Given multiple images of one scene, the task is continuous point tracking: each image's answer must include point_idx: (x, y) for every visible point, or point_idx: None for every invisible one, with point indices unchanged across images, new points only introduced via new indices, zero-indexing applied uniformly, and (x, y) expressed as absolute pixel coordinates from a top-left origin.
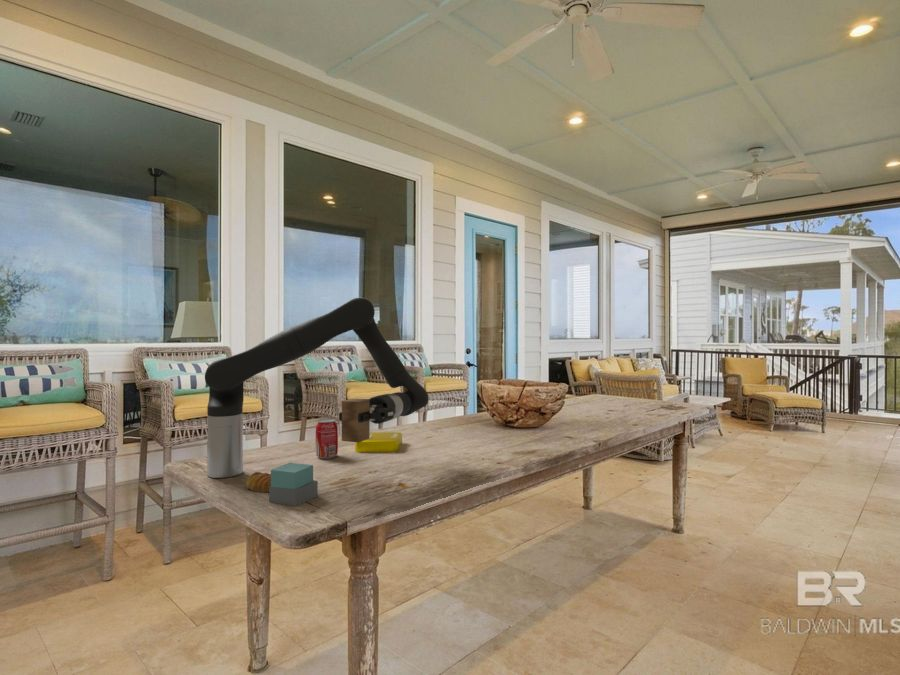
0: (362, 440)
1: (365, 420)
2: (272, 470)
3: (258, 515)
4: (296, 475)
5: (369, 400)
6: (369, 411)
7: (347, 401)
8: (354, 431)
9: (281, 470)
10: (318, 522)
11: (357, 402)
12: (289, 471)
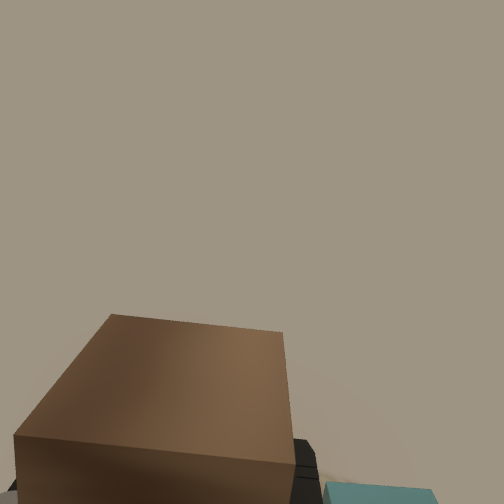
0: None
1: None
2: (423, 490)
3: (335, 481)
4: (326, 499)
5: (14, 445)
6: (16, 493)
7: (223, 328)
8: None
9: (391, 491)
10: None
11: (121, 318)
12: (355, 487)
